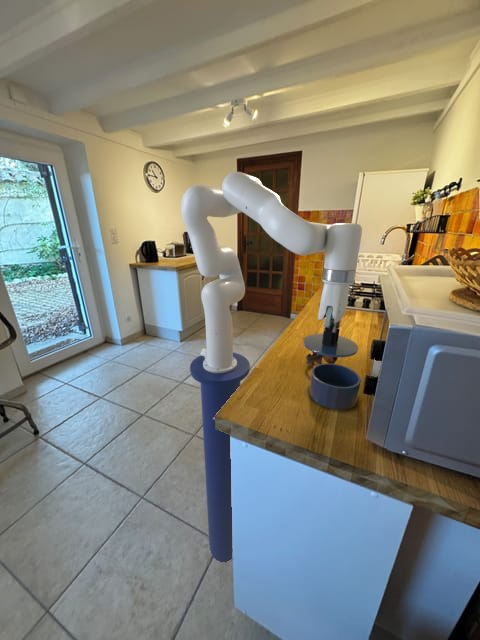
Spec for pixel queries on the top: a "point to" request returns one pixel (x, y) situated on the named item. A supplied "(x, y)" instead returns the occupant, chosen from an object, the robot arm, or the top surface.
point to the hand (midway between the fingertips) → (330, 342)
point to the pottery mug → (320, 359)
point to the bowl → (334, 386)
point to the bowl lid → (339, 350)
